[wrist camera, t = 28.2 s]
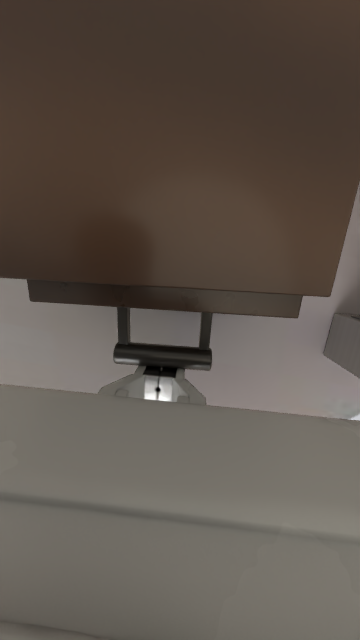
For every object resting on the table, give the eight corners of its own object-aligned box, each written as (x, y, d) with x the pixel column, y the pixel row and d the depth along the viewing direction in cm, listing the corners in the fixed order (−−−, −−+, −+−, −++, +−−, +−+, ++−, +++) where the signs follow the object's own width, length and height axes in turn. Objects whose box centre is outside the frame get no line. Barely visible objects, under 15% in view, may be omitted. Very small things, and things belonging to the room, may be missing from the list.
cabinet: (266, 284, 15) (330, 297, 8) (82, 273, 16) (-4, 277, 9) (313, 5, 11) (520, -448, 4) (62, 6, 11) (-129, -384, 5)
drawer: (252, 351, 15) (282, 392, 10) (88, 340, 16) (40, 373, 11) (302, 41, 11) (405, -172, 6) (66, 40, 11) (-39, -153, 6)
